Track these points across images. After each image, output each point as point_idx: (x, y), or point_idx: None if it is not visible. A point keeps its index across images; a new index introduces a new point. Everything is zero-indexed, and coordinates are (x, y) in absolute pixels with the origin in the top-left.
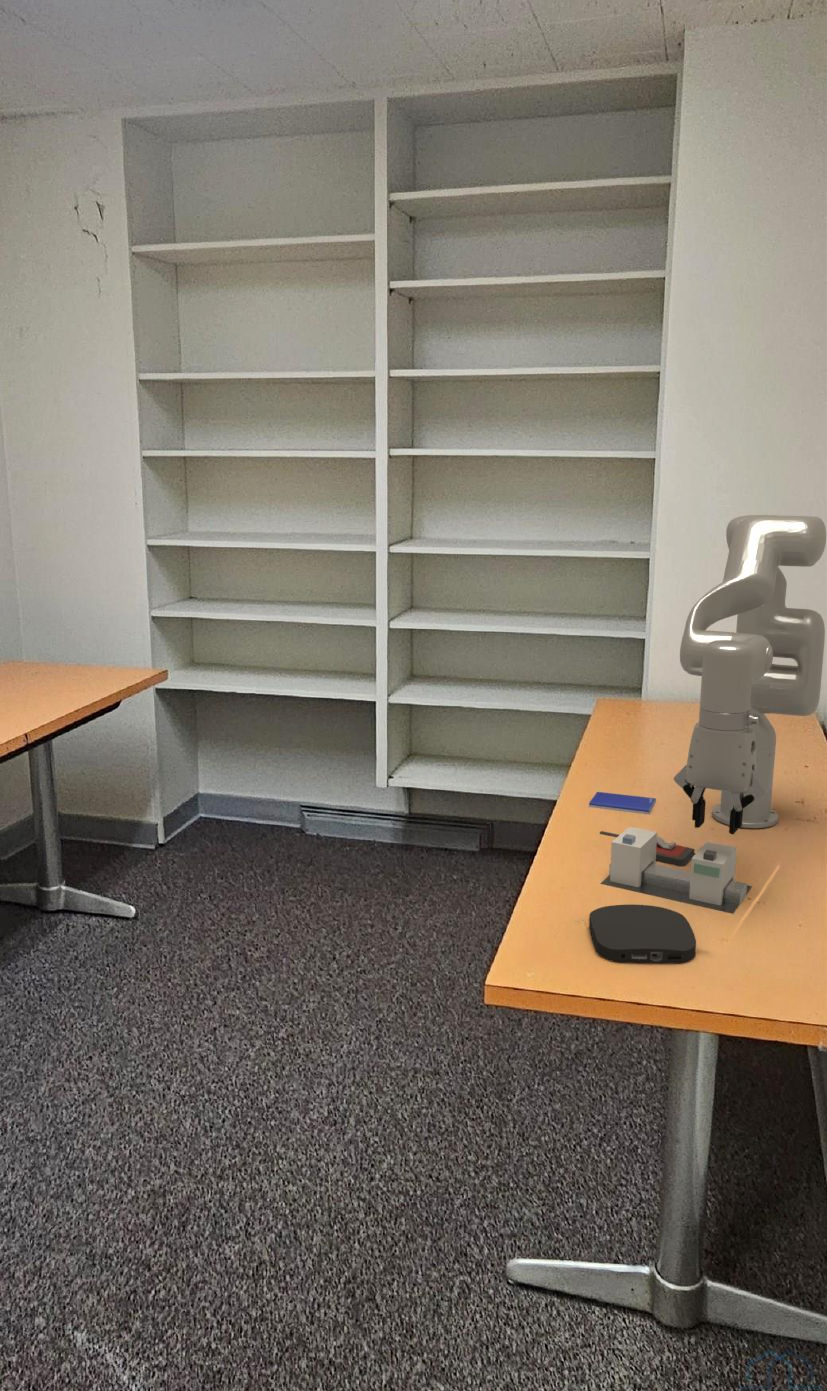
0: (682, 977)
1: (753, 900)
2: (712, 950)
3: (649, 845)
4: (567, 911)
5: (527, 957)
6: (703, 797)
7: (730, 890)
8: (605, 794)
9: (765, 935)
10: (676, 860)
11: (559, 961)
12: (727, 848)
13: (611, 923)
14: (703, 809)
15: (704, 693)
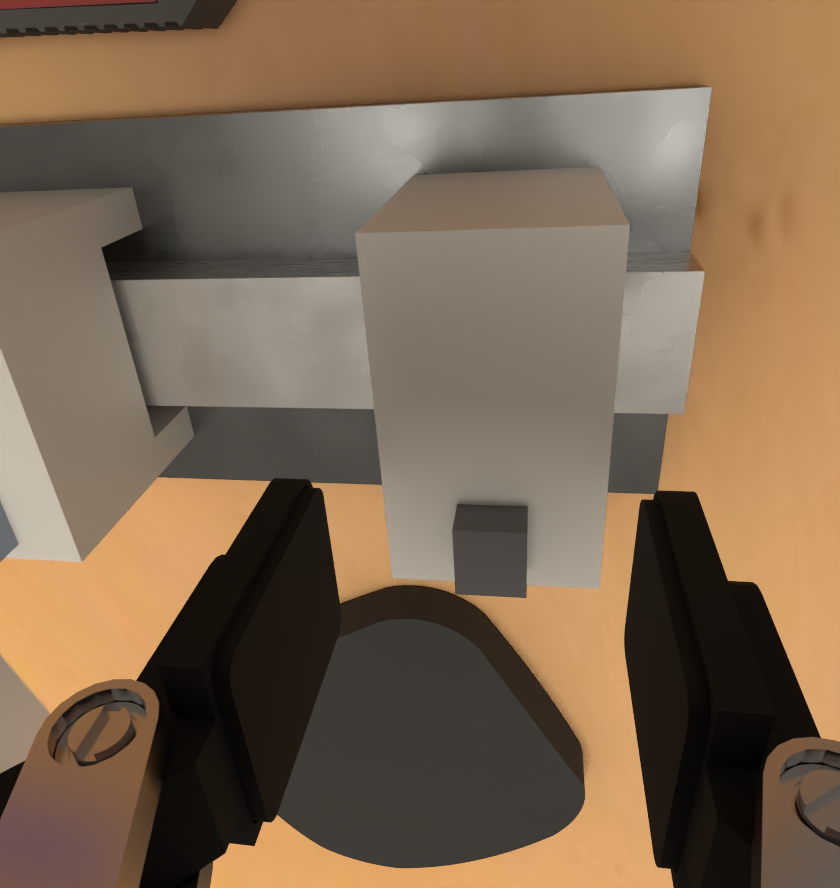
0: (581, 842)
1: (726, 211)
2: (626, 709)
3: (54, 389)
4: (118, 652)
5: (214, 860)
6: (191, 762)
7: (624, 410)
8: None
9: (811, 550)
10: (163, 25)
11: (282, 857)
12: (559, 296)
13: (307, 790)
14: (278, 652)
15: None
